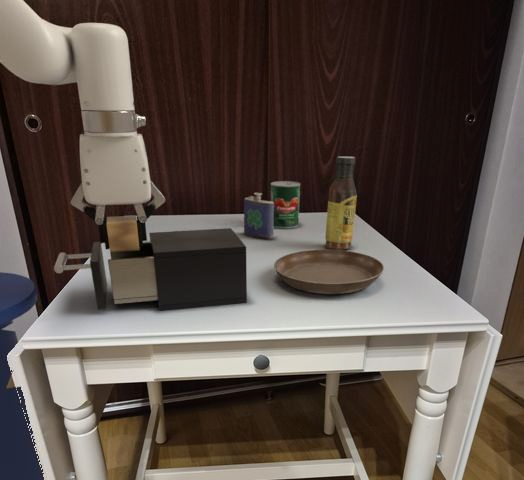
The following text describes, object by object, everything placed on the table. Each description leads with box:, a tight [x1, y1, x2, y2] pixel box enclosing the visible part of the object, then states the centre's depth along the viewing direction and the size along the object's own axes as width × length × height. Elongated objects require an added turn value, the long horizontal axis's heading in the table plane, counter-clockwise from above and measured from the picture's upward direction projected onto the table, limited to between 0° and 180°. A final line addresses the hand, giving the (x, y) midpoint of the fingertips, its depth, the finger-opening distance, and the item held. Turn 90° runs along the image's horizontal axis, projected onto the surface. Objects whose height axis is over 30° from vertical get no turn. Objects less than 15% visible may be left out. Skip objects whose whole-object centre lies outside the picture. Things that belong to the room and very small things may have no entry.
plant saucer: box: [273, 249, 385, 295], centre depth 92 cm, size 21×21×3 cm
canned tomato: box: [270, 180, 301, 229], centre depth 130 cm, size 8×8×11 cm
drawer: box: [53, 240, 158, 310], centre depth 81 cm, size 19×12×8 cm, turn 105°
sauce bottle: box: [325, 155, 358, 251], centre depth 109 cm, size 7×6×20 cm
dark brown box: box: [149, 227, 248, 312], centre depth 84 cm, size 15×13×10 cm
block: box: [106, 215, 139, 252], centre depth 79 cm, size 5×5×5 cm
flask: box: [243, 192, 275, 241], centre depth 119 cm, size 9×3×11 cm, turn 49°
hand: (124, 245), depth 80 cm, fingers closed on block, 4 cm apart
